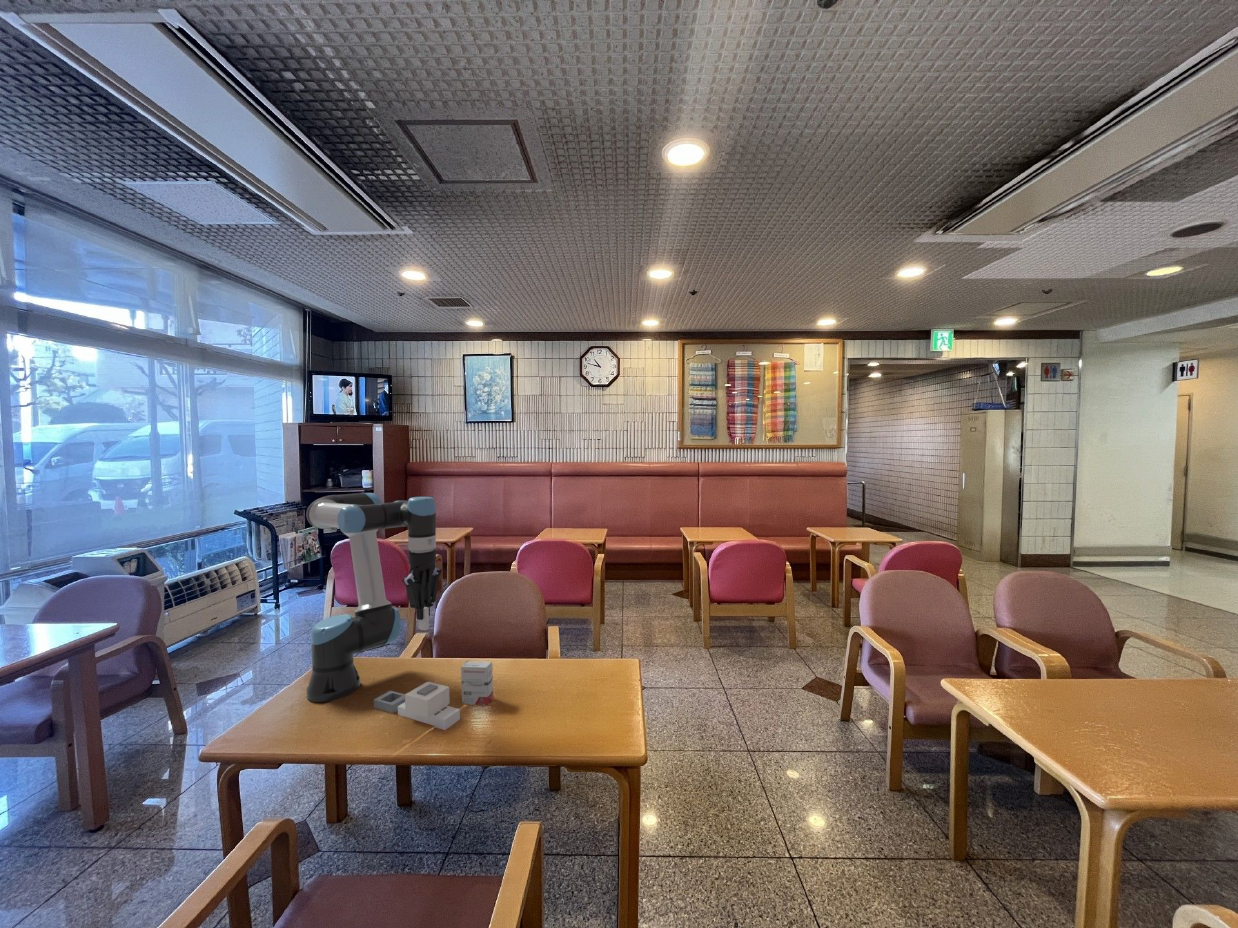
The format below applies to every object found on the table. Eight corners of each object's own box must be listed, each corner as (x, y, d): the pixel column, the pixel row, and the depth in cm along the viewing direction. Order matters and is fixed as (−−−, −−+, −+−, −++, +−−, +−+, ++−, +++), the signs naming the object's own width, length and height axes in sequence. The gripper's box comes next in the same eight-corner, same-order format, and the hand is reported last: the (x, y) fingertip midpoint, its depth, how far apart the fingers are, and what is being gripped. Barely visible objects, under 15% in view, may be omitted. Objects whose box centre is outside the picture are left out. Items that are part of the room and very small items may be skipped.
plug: (405, 719, 142) (404, 692, 142) (428, 705, 150) (427, 679, 150) (427, 726, 139) (427, 698, 138) (449, 711, 146) (449, 684, 146)
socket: (398, 716, 145) (397, 704, 145) (414, 706, 151) (413, 694, 150) (444, 730, 138) (444, 717, 138) (460, 719, 143) (459, 706, 143)
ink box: (494, 697, 155) (493, 660, 155) (488, 705, 151) (487, 667, 150) (467, 696, 156) (466, 659, 156) (461, 704, 151) (460, 666, 151)
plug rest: (373, 709, 149) (373, 699, 149) (390, 699, 155) (390, 690, 155) (393, 714, 146) (392, 704, 146) (409, 705, 151) (409, 695, 151)
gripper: (414, 555, 137) (415, 639, 138) (448, 546, 149) (449, 623, 150) (394, 553, 140) (396, 634, 141) (429, 544, 152) (430, 619, 153)
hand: (423, 628), depth 146 cm, fingers closed
